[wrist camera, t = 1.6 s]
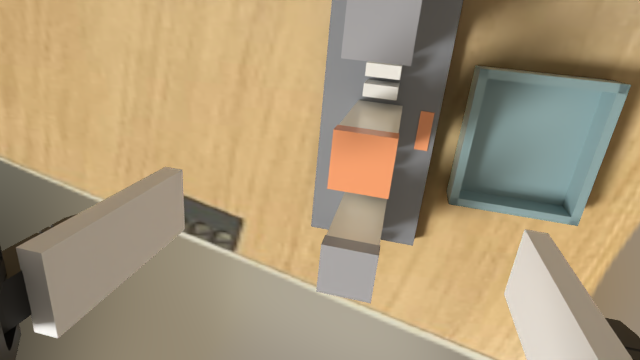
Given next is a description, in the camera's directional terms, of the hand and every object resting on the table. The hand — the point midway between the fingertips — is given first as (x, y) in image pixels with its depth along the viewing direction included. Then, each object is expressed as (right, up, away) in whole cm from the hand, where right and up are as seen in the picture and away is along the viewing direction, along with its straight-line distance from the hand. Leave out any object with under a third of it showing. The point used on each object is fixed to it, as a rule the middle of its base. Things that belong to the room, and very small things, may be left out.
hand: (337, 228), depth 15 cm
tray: (+15, +5, +15) cm, 22 cm away
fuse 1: (+4, +13, +13) cm, 19 cm away
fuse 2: (+3, 0, +18) cm, 19 cm away
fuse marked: (+4, +6, +16) cm, 17 cm away
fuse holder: (+4, +7, +17) cm, 19 cm away
